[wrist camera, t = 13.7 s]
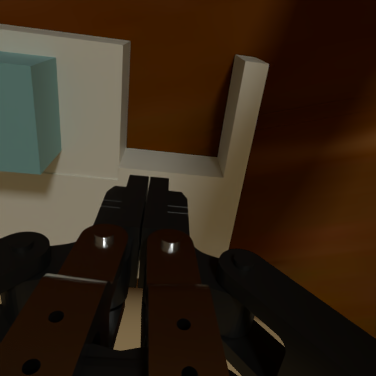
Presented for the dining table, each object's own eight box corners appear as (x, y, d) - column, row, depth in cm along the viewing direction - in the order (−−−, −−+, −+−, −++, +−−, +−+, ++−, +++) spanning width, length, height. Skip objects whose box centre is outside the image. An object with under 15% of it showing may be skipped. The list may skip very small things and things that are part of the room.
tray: (-217, -5, 22) (-335, -12, 17) (255, 57, 24) (276, 67, 19) (-132, 227, 30) (-194, 269, 25) (215, 254, 32) (223, 298, 27)
